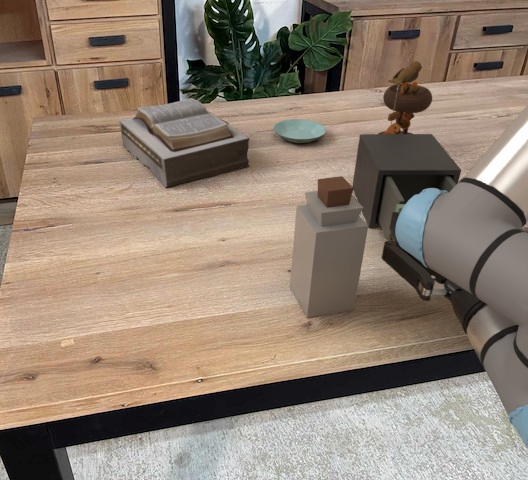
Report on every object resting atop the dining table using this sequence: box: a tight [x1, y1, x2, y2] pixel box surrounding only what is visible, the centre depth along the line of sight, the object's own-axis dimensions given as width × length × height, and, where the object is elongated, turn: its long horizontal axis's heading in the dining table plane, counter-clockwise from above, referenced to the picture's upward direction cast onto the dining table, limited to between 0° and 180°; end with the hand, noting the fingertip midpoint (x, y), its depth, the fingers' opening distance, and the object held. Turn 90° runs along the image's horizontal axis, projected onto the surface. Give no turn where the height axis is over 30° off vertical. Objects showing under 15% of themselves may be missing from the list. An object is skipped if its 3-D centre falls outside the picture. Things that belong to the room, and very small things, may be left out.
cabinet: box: [351, 133, 462, 229], centre depth 93 cm, size 15×13×11 cm
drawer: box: [376, 175, 456, 241], centre depth 82 cm, size 18×12×9 cm, turn 178°
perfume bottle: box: [289, 175, 369, 319], centre depth 70 cm, size 7×7×18 cm
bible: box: [118, 97, 250, 189], centre depth 113 cm, size 23×27×10 cm
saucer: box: [272, 118, 327, 144], centre depth 122 cm, size 12×12×2 cm
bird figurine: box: [377, 60, 433, 134], centre depth 110 cm, size 15×11×20 cm
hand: (436, 220), depth 77 cm, fingers closed on drawer, 12 cm apart
